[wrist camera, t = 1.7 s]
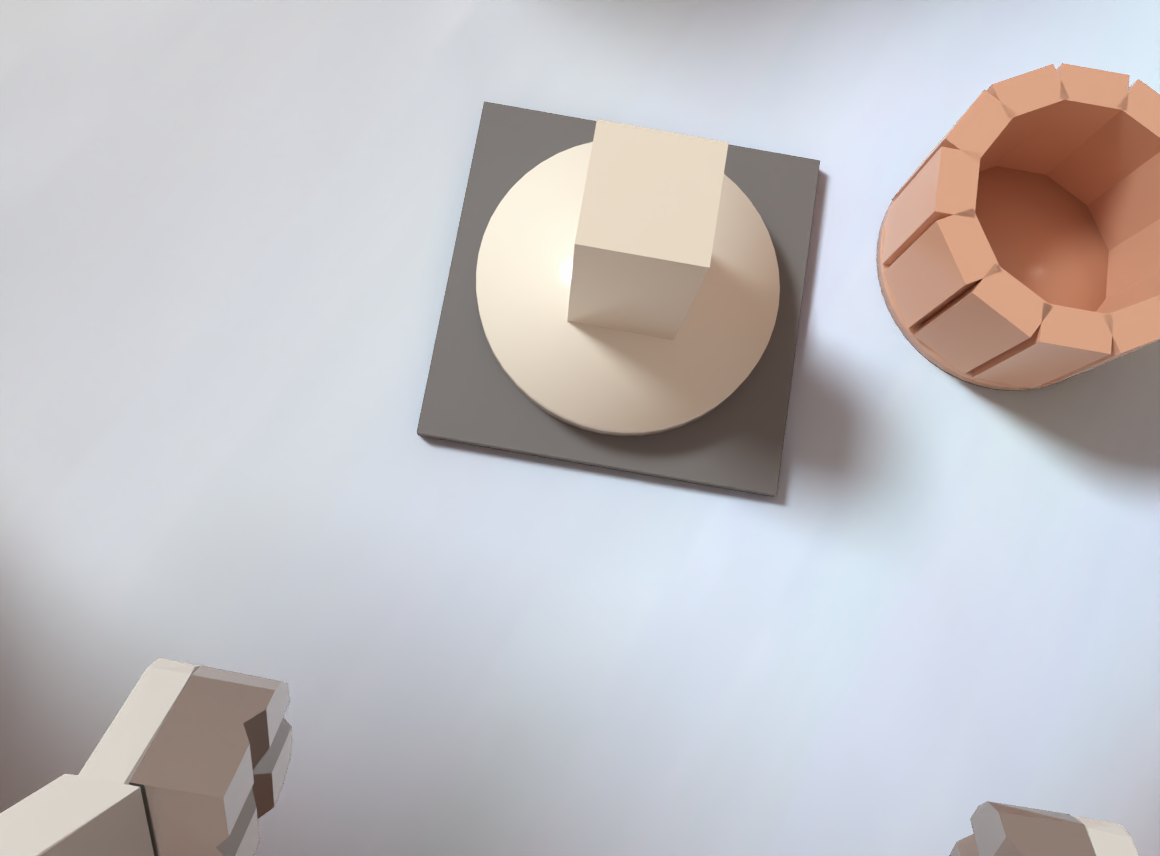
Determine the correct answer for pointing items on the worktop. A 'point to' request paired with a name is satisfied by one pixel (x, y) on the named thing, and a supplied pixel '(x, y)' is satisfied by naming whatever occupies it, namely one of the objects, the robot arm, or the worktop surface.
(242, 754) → the robot arm
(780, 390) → the rubber mat
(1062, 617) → the worktop surface
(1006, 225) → the bowl
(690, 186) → the lid
